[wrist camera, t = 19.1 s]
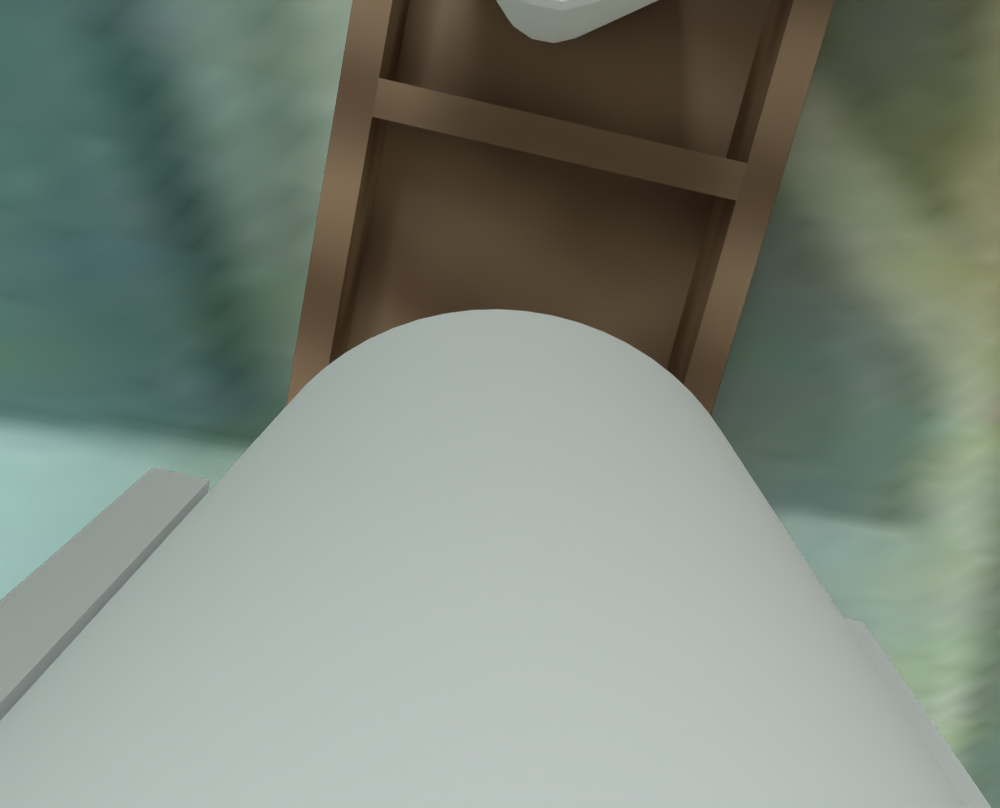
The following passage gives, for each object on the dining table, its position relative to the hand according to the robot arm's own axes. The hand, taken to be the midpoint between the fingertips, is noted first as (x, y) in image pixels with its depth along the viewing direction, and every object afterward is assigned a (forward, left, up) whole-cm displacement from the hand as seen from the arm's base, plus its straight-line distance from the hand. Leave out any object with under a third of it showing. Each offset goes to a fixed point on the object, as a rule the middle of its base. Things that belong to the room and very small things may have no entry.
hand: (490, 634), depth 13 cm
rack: (-7, 0, -24) cm, 25 cm away
